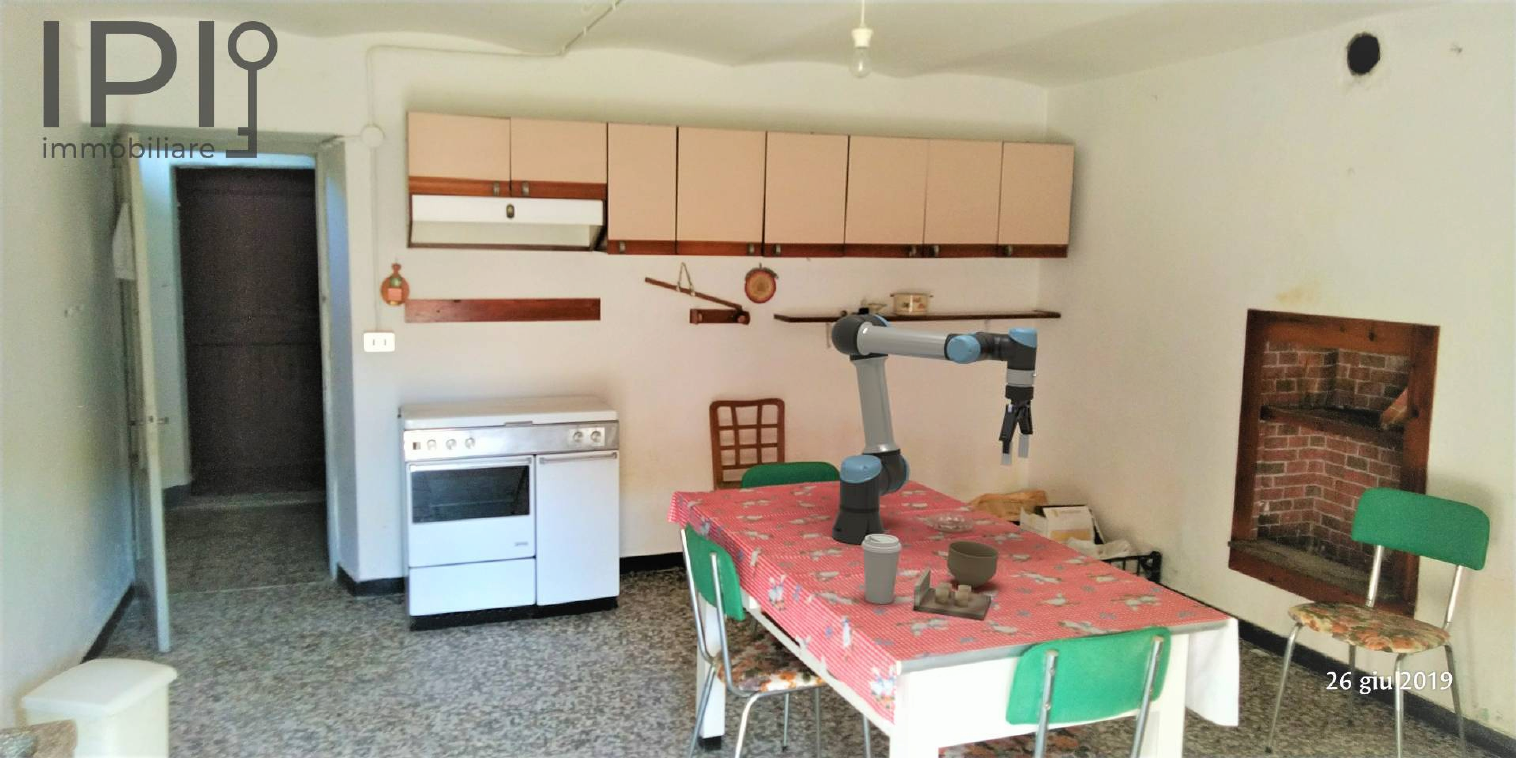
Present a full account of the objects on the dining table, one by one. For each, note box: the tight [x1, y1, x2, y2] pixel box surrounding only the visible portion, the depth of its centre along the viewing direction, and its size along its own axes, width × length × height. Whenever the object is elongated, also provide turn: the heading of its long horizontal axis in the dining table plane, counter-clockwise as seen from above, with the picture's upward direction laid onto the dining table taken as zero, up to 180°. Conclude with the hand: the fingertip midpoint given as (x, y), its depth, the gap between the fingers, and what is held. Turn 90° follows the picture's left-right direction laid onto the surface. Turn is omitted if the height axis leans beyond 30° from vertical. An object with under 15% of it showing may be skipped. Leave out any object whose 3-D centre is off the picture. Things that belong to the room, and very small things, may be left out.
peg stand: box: [912, 567, 992, 621], centre depth 239 cm, size 16×14×6 cm
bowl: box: [946, 540, 1000, 589], centre depth 254 cm, size 13×13×10 cm
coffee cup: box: [860, 533, 903, 605], centre depth 241 cm, size 10×10×15 cm
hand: (1014, 461), depth 278 cm, fingers open, 13 cm apart
